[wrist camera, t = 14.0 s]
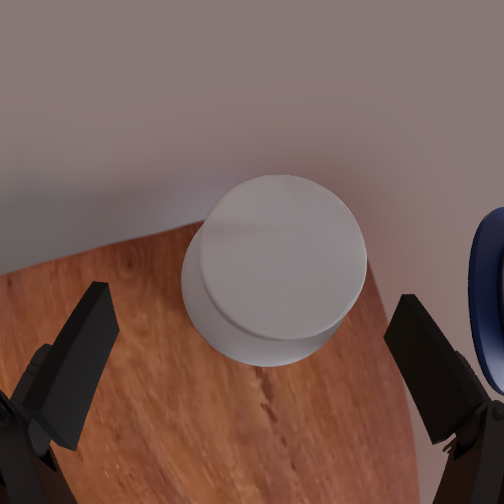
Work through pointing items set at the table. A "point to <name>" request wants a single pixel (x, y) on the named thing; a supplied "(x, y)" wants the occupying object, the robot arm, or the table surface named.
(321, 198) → the supplement bottle
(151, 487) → the table surface
